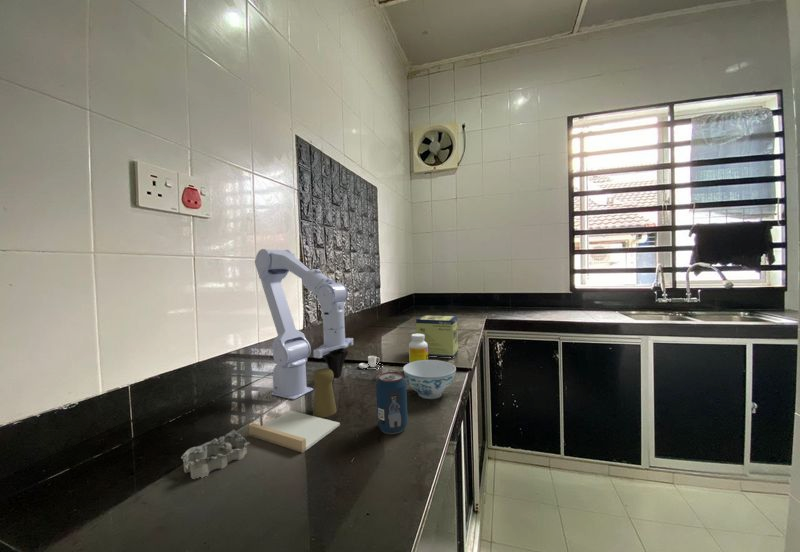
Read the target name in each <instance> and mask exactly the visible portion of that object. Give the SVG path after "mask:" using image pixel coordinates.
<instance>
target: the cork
mask: <svg viewBox="0 0 800 552" xmlns="http://www.w3.org/2000/svg"><path fill="white" fill-rule="evenodd" d="M334 379H335V378H334V374H333V371H332V370H331V369H329V368H320V369H317V370H314V373H313V375H312V380H313V383H314V384H315V386H314V397H313V398H314V399H313V408H312V416H315V417H319V418H327V417H328V418H329V417H331V416H333V415H335V414H336V413H337V406H336V400H335V393H334V389H333V381H334Z"/></svg>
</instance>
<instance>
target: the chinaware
mask: <svg viewBox="0 0 800 552" xmlns="http://www.w3.org/2000/svg"><path fill="white" fill-rule="evenodd" d="M402 369H403V376H404V379H405V381H406V383H407V384H408V385H409V386H410V388H411V389H412V390H414V391H415V392H417V394H418V396H419V397H421V398H422V399H427V400H434V399H438V398H440V397H441V396H442V395H443V393H444V392H445V391H446V390H448V389H449V387H450V386H451V385H452V384H453V382H454V379H455V377H456V376H455V375H456V371H457V368H456V366H455V365H454V364H453V363H452V362H451V363H450V362H447V361H445V360H440V359H439V360H438V359H428V360H420V361H415V362H411V363H407V364H406V363H405V365H403V368H402Z"/></svg>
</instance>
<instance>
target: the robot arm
mask: <svg viewBox="0 0 800 552" xmlns="http://www.w3.org/2000/svg"><path fill="white" fill-rule="evenodd" d="M254 264H255V268H256V270H257V273H258V278H259V279H260V281H261V285H262V289H263V291H264V295H265V298H266V301H267V305H268V307H269V311H270V315H271V317H272V321H273V324H274V327H275V331H276V333H277V335H276V337H275V338H274V340H273V341H272V343H271V347H272V350H273V353H272V357H273V361H274V362H275V363H276V365H275V366H274V367H273V370H272V384H273V386H272V390H273V391H272V392H271V395H272V396H276V397H280V398H284V399H289V400H296V399H299V398H300V397H302V396H304V395H306V394H308V393H309V392H312V391H313V390H314V388H312V387H309V386H307V371H306V370H307V368H306V366H307V365H306V362H308V358H309V357H310V356H311V353H312V351H313V358H315V359H322V358H323V359H324V360H325V362H326V364H327V367H328V369H331V370H332V371H333V374H334V378H333V379H339V378H340V377H341V376H342V372H343V371H342V370H343V366H344V362H345V359H346V357H347V355H348V353H349V350H348V349H346V348H348V347H349V346H354V338H353V337H346V327H345V326H346V325H345V302H346V301H347V300H348V296H349V292H348V291H349V290H348V288H347V287H346V285H345V284H344V283H343V282H341V281H340V282H338V281H337V282H335V281H334V279H333V278H330V277H328V276H326V275H325V274H323V272H322V270H321V269H320V268H318V269H316V268H312V269H310V268H309V267H308V266H306V265H305V264H304V263H303V262H301V261H300V260H299V259H298V258H297V257H296V255H295V253H294V252H292V251H291V250H289V249H283V250H281V249H279V250H278V249H266V248H262V249H259V251H257V254H256V257H255V260H254ZM289 272H290V273H292V274H293V275H295V276H297V277H298V278H299V279H301V281H302V285H303V286H304V287H305V288H306V289H308V290H309V291H311V293H313V294H314V295H316V298H317V301H318V303H319V304H320V310H321V312H322V330H323V331H322V333H323V344H321V345H320V346H319V347H316V348H315V349H313V350H312V348H311V344H310V342H309V341H308V340H307V338H306V336H305V333H303V332H302V331H300V330H298V329H297V327H296V325H295V323H294V319H293V316H292V313H291V309H290V306H289V304H288V301H287V297H286V294H285V291H284V287H283V284H282V280H284V279H285V278H286V277H287V275H288V273H289Z"/></svg>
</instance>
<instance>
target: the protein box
mask: <svg viewBox="0 0 800 552" xmlns="http://www.w3.org/2000/svg"><path fill="white" fill-rule="evenodd" d="M415 325H416V326H415V327H416V328H415V329H416V330H415V331H416V332H415V334H424V335H425V338H424V341H425V342H426V343H427V345H428V356H437V357H451V358H453V357H454V356H455V355H456V354H457V355H458V353H459V344H458V343H459V337H458V336H459V335H458V316H457V315H422V316H420V317H418V318H416V319H415ZM457 352H458V353H457ZM457 355H456V356H457ZM456 356H455V357H456ZM455 357H454V358H455Z"/></svg>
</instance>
